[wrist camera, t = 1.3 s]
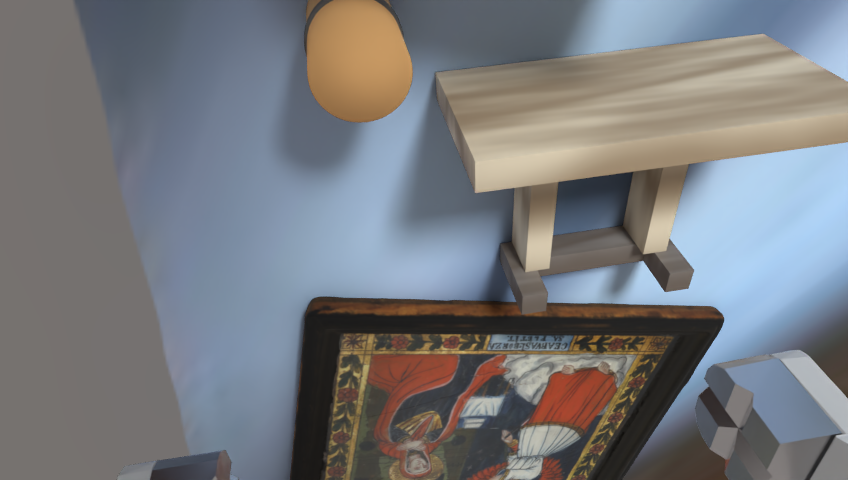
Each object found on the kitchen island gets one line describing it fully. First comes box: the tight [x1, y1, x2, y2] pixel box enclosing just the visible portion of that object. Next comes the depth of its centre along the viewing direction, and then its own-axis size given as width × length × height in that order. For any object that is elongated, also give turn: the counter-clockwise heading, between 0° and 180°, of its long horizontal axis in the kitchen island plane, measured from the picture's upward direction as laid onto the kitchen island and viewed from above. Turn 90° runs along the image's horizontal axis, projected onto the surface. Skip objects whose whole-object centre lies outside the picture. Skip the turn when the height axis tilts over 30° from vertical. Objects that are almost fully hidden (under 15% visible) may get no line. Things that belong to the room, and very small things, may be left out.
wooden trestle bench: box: [436, 34, 848, 315], centre depth 32 cm, size 14×18×9 cm
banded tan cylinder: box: [304, 0, 413, 122], centre depth 25 cm, size 4×4×7 cm
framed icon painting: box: [290, 297, 724, 480], centre depth 52 cm, size 38×35×3 cm
